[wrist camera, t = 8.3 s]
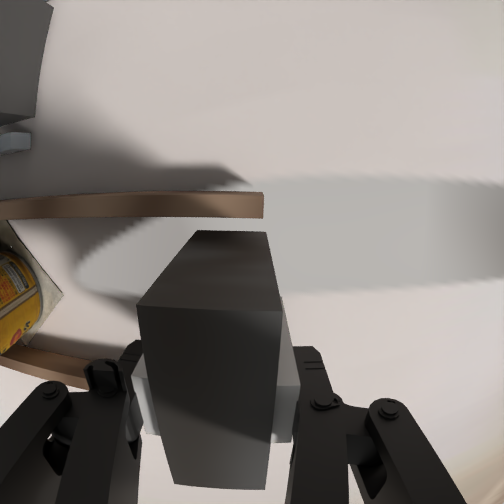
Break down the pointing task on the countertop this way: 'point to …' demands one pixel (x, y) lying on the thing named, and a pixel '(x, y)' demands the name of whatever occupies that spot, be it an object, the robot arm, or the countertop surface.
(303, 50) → the countertop surface
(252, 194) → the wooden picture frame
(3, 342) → the condiment
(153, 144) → the countertop surface
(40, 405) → the robot arm
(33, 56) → the grey frame
